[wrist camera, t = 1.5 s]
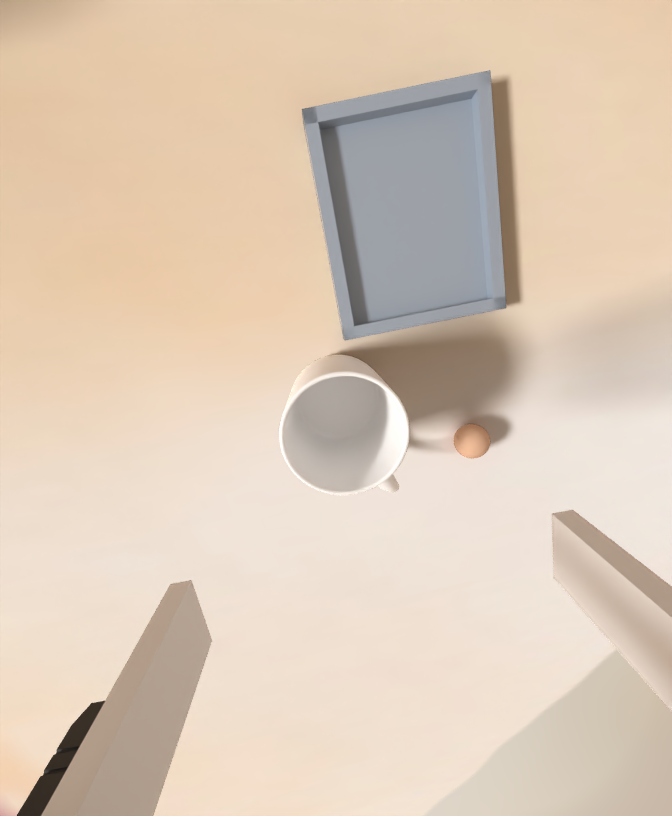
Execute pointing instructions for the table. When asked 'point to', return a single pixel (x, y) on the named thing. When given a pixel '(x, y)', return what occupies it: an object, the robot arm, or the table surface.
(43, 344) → the table surface
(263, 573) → the table surface
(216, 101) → the table surface
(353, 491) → the mug
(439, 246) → the tray
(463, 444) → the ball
